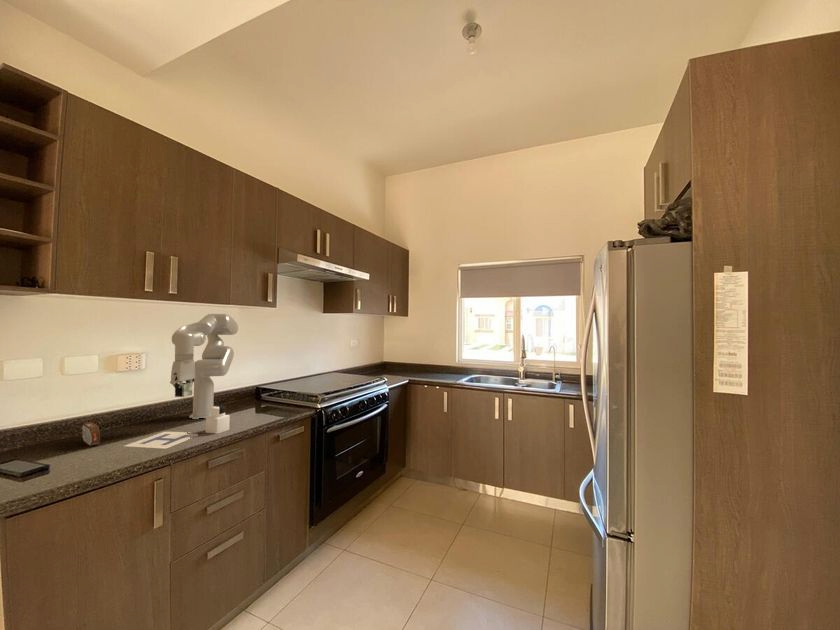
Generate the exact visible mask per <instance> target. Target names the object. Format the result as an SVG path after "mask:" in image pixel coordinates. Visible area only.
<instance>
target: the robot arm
mask: <svg viewBox="0 0 840 630" xmlns="http://www.w3.org/2000/svg"><path fill="white" fill-rule="evenodd" d="M238 330H239V325H238V323H237V321H235V319H234V317H232V316H231V315H230V314H227V313H210V314H209V313H208V314H207V315H205V316H204V317H202V319H200V320H199V321H197V322H193V323H190V324H187V325H184V326H181V327H180V328H178V329H176V331H174V332H173V334H172V336H171V343H172V344H173V345H174V361H173V362H172V366H171V375H170V381H169V383H170V384H171V385H172V386H173V387H174V397H175V396H182V388H181V386H182V383H184V382H185V383H193V393H192V397H193V399H192V413H191V414H190V415H189V419H190V418H192V420H200V419H199V418H204V419H206V418H207V417H210V416H211V408H212V407H213V406H214V397H215V395H214V393H215V390H214V389H215V384H214V381H213V379H212V378H211V377H225V375H227V374H228V372H229V369H230V366H231V364H232V362H233V360H234V353H235V352H234V349H233V348H232V347H231V346H227V345H225V342H224V341H223V339H222V338H221V337H220V336H233V335H235V334H237V333H238ZM206 336H207V343H206V345H205V347H204V350H203V351H202V353H201V359H198V360H196V361H195V360H194V355H195V354H194V352H195V351H194V347H200V346H202V345H203V344H204V343H205V342H206ZM175 388H176V390H175Z"/></svg>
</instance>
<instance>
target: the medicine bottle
mask: <svg viewBox="0 0 840 630" xmlns="http://www.w3.org/2000/svg"><path fill="white" fill-rule="evenodd" d="M230 418H231V415H230V414H226V406H225V405H224V404H222V405H221V404H218V405H213V407H212V408H211V416H210V417H207V418H205V433H206V434H213V433H214V435H217V433H218V434H220V433H221V434H222V433H224V432H226V431H229V430H230V423H231V422H230Z"/></svg>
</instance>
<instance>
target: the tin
mask: <svg viewBox="0 0 840 630" xmlns="http://www.w3.org/2000/svg"><path fill="white" fill-rule="evenodd" d="M81 429H82V430H81V431H82V435H81V437H82V439H83V442H84V443H85V444H86V445H87V446H89V447H93V445H94V446H97V445H98V446H99V444H100V441H101V433H100V429H99V425H97V424H95V423H94V422H93V421H90V422H85V423H84V424H82V426H81Z"/></svg>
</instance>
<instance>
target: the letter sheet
mask: <svg viewBox="0 0 840 630" xmlns="http://www.w3.org/2000/svg"><path fill="white" fill-rule="evenodd" d="M187 432H188V431H187ZM187 432H185V431H184V432H183V431H167V432H166V431H165V430H164V431H162V432H159V433H156V434H155V435H151V436H148V437H146V438H142V439H140V440H137V441H134V442H131V443H128V444H126V445H124V447H129V448H130V447H132V448H147V449H165V450H166V449H168V448H171V447H174V446H176V445H178V444H181V443H183V442H186V441H188V439H189V440H190V437H188V435H189V434H187ZM189 436H190V435H189Z"/></svg>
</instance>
